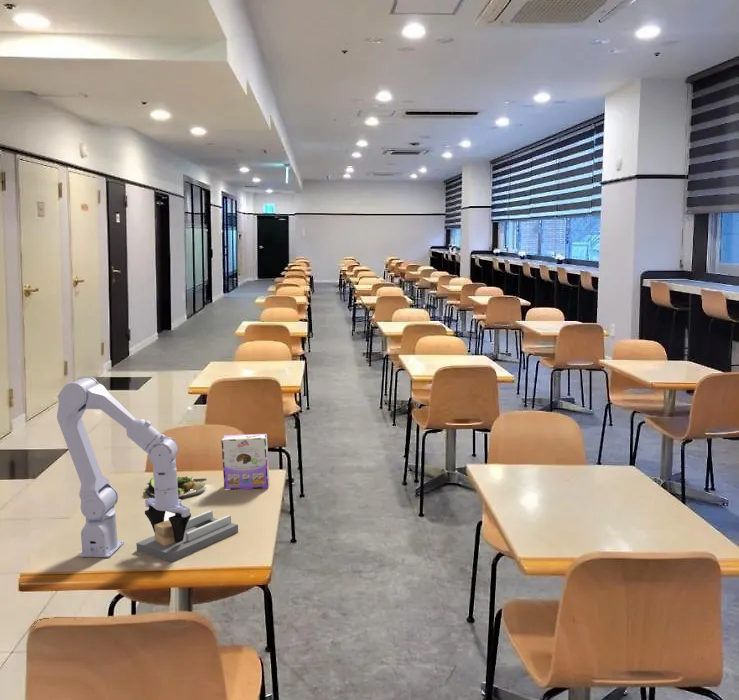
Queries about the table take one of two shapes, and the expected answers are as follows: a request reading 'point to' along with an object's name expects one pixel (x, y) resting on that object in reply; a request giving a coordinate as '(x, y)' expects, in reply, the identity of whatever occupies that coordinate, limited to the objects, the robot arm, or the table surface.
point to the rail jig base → (191, 537)
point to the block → (164, 533)
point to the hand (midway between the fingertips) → (169, 538)
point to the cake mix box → (245, 461)
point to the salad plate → (181, 486)
